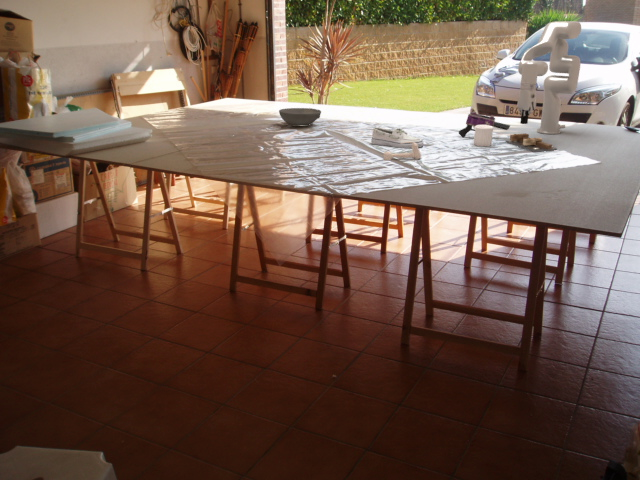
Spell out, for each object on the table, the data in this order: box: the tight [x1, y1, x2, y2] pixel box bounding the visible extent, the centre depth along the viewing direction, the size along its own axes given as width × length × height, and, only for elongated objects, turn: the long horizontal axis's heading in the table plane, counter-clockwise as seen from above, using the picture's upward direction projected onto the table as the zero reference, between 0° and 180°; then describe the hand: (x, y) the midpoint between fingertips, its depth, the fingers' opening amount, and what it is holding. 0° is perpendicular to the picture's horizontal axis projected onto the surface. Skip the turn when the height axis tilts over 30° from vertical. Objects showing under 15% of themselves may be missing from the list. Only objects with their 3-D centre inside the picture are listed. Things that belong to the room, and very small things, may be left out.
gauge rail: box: [509, 133, 553, 149], centre depth 305 cm, size 10×26×5 cm, turn 16°
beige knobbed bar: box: [383, 142, 422, 161], centre depth 284 cm, size 4×18×10 cm, turn 91°
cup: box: [473, 125, 494, 147], centre depth 309 cm, size 10×10×10 cm
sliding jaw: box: [523, 137, 543, 145], centre depth 303 cm, size 10×3×3 cm, turn 106°
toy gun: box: [458, 111, 511, 138], centre depth 326 cm, size 3×26×15 cm, turn 78°
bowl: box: [278, 107, 322, 126], centre depth 370 cm, size 26×26×10 cm
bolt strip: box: [505, 139, 558, 154], centre depth 305 cm, size 13×26×1 cm, turn 16°
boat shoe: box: [371, 126, 424, 149], centre depth 312 cm, size 11×29×10 cm, turn 68°
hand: (523, 123), depth 305 cm, fingers closed
